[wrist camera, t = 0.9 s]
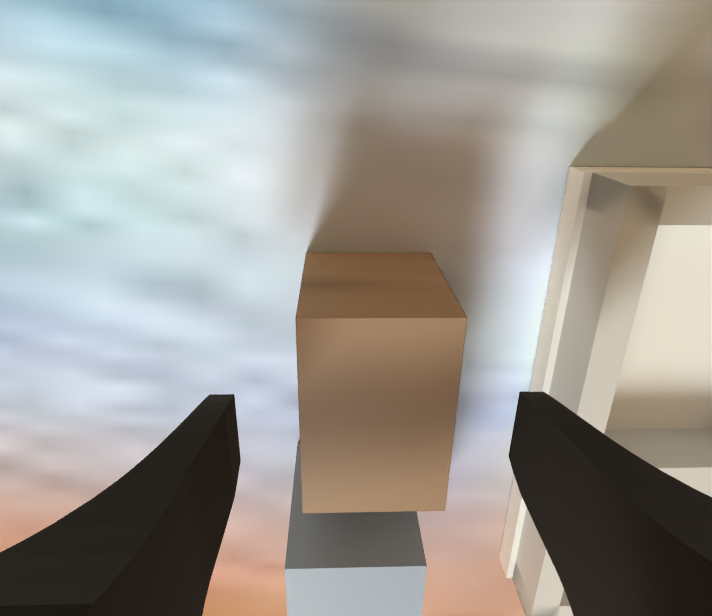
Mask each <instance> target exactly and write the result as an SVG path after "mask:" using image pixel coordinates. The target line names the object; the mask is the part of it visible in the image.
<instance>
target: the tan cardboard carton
mask: <svg viewBox="0 0 712 616" xmlns="http://www.w3.org/2000/svg"><path fill="white" fill-rule="evenodd" d="M466 322H467V317H466V315H465V313H464V312H463V310H462V308H461V306H460V304H459V303H458V301H457V299H456V297H455V295H454V294H453V292H452V290H451V288H450V286H449V285H448V283H447V281H446V279H445V277H444V276H443V274H442V272H441V270H440V268H439V267H438V265H437V263H436V261H435V259H434V258H433V256H432V254H431V253H306V257H305V263H304V269H303V275H302V282H301V288H300V294H299V300H298V307H297V313H296V344H297V371H298V399H299V427H300V454H301V482H302V510H303V513H346V512H400V511H445V507H446V498H447V489H448V480H449V471H450V463H451V454H452V445H453V436H454V427H455V419H456V410H457V401H458V392H459V384H460V375H461V366H462V357H463V348H464V340H465V331H466Z"/></svg>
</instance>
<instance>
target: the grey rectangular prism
mask: <svg viewBox="0 0 712 616" xmlns="http://www.w3.org/2000/svg"><path fill="white" fill-rule="evenodd" d="M426 567H427V565H426V560H425V555H424V549H423V544H422V539H421V533H420V528H419V523H418V517H417V512H416V511H400V512H346V513H303V510H302V482H301V454H300V443H298V445H297V454H296V464H295V474H294V484H293V494H292V503H291V513H290V523H289V533H288V543H287V553H286V562H285V581H286V598H287V615H288V616H422V607H423V597H424V587H425V577H426Z"/></svg>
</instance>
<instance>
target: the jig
mask: <svg viewBox="0 0 712 616" xmlns="http://www.w3.org/2000/svg"><path fill="white" fill-rule="evenodd" d="M529 392H545V393H547V394H548V395H550V396H551V397H553V398H554V399H556V400H557V401H559V402H560V403H561V404H563V405H564V406H566V407H567V408H568V409H570V410H571V411H573V412H574V413H575V414H577V415H578V416H579V417H581V418H582V419H584V420H585V421H586V422H588V423H589V424H591V425H592V426H593V427H595V428H596V429H598V430H599V431H600V432H602V433H603V434H605V435H606V436H608V437H609V438H611V439H612V440H613V441H615V442H616V443H618V444H619V445H621V446H622V447H624V448H625V449H627V450H629V451H630V452H632V453H633V454H635V455H637V456H638V457H640V458H641V459H643V460H645V461H646V462H648V463H649V464H651V465H653V466H654V467H656V468H658V469H659V470H661V471H663V472H665V473H667V474H668V475H670V476H672V477H674V478H676V479H678V480H679V481H681V482H683V483H685V484H687V485H689V486H690V487H692V488H694V489H696V490H698V491H700V492H702V493H704V494H706V495H708V496H710V497H712V168H653V167H569V172H568V178H567V183H566V189H565V194H564V200H563V205H562V211H561V217H560V222H559V228H558V233H557V239H556V244H555V250H554V256H553V261H552V267H551V272H550V278H549V284H548V289H547V295H546V300H545V306H544V311H543V317H542V323H541V328H540V334H539V339H538V345H537V350H536V356H535V362H534V367H533V373H532V378H531V384H530V389H529ZM499 558H500V561H501V564H502V567H503V570H504V573H505V576H506V578H512V579H513V581H514V584H515V587H516V590H517V593H518V595H519V598H520V601H521V604H522V607H523V609H524V612H525V615H526V616H573V613H572V610H571V607H570V604H569V601H568V599H567V596H566V593H565V590H564V588H563V586H562V583H561V581H560V578H559V576H558V574H557V571H556V569H555V567H554V565H553V563H552V561H551V559H550V556H549V554H548V552H547V550H546V548H545V546H544V544H543V541H542V539H541V537H540V535H539V533H538V531H537V529H536V527H535V524H534V522H533V520H532V518H531V516H530V514H529V511H528V509H527V507H526V505H525V503H524V500H523V498H522V496H521V494H520V491H519V488H518V485H517V482H516V479H515V476H514V479H513V484H512V490H511V495H510V501H509V507H508V512H507V518H506V523H505V529H504V534H503V540H502V546H501V551H500V557H499Z"/></svg>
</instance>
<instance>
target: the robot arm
mask: <svg viewBox="0 0 712 616" xmlns="http://www.w3.org/2000/svg"><path fill="white" fill-rule="evenodd" d="M509 459H510V462H511V466H512V469H513V472H514V476H515V479H516V482H517V485H518V488H519V491H520V494H521V496H522V498H523V500H524V503H525V505H526V507H527V509H528V511H529V514H530V516H531V518H532V520H533V522H534V524H535V527H536V529H537V531H538V533H539V535H540V537H541V539H542V541H543V544H544V546H545V548H546V550H547V552H548V554H549V556H550V559H551V561H552V563H553V565H554V567H555V569H556V571H557V574H558V576H559V578H560V581H561V583H562V586H563V588H564V590H565V593H566V596H567V599H568V601H569V604H570V607H571V610H572V613H573V616H712V497H710V496H708V495H706V494H704V493H702V492H700V491H698V490H696V489H694V488H692V487H690V486H689V485H687V484H685V483H683V482H681V481H679V480H678V479H676V478H674V477H672V476H670V475H668V474H667V473H665V472H663V471H661V470H659V469H658V468H656V467H654V466H653V465H651V464H649V463H648V462H646V461H645V460H643V459H641V458H640V457H638V456H637V455H635V454H633V453H632V452H630V451H629V450H627V449H625V448H624V447H622V446H621V445H619V444H618V443H616V442H615V441H613V440H612V439H611V438H609V437H608V436H606V435H605V434H603V433H602V432H600V431H599V430H598V429H596V428H595V427H593V426H592V425H591V424H589V423H588V422H586V421H585V420H584V419H582V418H581V417H579V416H578V415H577V414H575V413H574V412H573V411H571V410H570V409H568V408H567V407H566V406H564V405H563V404H561V403H560V402H559V401H557V400H556V399H554V398H553V397H551V396H550V395H548V394H547V393H545V392H520V393H519V399H518V405H517V411H516V416H515V422H514V428H513V434H512V440H511V445H510V451H509ZM239 466H240V450H239V439H238V429H237V419H236V409H235V398H234V394H230V395H209V396H208V397H207V398H205V399H204V400H203V401H202V402H201V403H200V404H199V405H198V407H197V408H196V409H195V410H194V411H193V412H192V413H191V414H190V415H189V416H188V417H187V418H186V419H185V420H184V421H183V422H182V423H181V424H180V425H179V426H178V427H177V428H176V429H175V430H174V431H173V432H172V433H171V434H170V435H169V436H168V437H167V438H166V439H165V440H164V441H163V442H162V443H161V444H160V445H159V446H158V447H156V448H155V449H154V450H153V451H152V452H151V453H150V454H149V455H148V456H146V457H145V458H144V459H143V460H142V461H141V462H140V463H138V464H137V465H136V466H135V467H134V468H133V469H131V470H130V471H129V472H128V473H127V474H125V475H124V476H123V477H121V478H120V479H119V480H118V481H116V482H115V483H114V484H112V485H111V486H109V487H108V488H107V489H105V490H104V491H103V492H101V493H100V494H98V495H97V496H96V497H94V498H93V499H91V500H90V501H88V502H87V503H85V504H83V505H82V506H80V507H79V508H77V509H76V510H74V511H72V512H71V513H69V514H68V515H66V516H65V517H63V518H61V519H60V520H58V521H57V522H55V523H54V524H52V525H50V526H48V527H47V528H45V529H43V530H41V531H40V532H38V533H36V534H34V535H32V536H31V537H29V538H27V539H25V540H23V541H21V542H20V543H18V544H16V545H14V546H12V547H10V548H8V549H6V550H4V551H2V552H0V616H202V614H203V608H204V603H205V599H206V595H207V591H208V587H209V583H210V579H211V576H212V572H213V569H214V566H215V562H216V559H217V555H218V552H219V549H220V545H221V542H222V538H223V535H224V532H225V528H226V525H227V521H228V518H229V515H230V511H231V508H232V504H233V501H234V497H235V491H236V485H237V479H238V473H239Z"/></svg>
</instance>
